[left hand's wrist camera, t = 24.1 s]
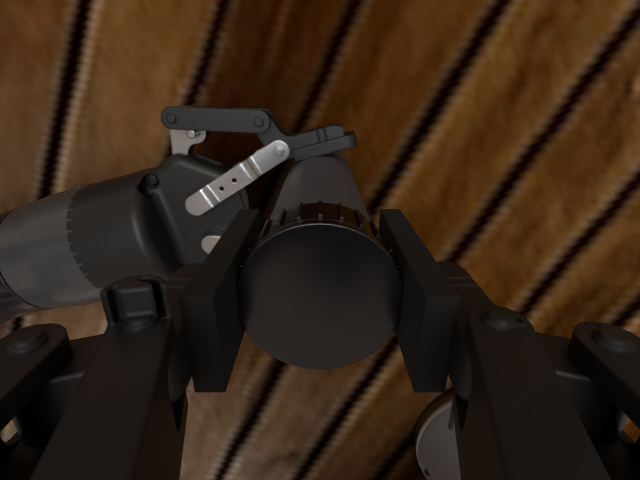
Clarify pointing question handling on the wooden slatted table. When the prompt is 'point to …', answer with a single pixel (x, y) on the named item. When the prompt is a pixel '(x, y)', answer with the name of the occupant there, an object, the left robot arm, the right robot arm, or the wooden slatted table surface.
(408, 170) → the wooden slatted table surface
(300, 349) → the lid
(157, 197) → the right robot arm
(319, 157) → the bottle
